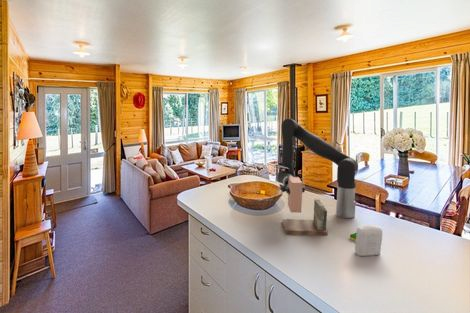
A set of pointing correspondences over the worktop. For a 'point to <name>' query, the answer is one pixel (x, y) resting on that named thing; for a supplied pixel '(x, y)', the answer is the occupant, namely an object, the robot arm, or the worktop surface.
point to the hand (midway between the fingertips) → (295, 192)
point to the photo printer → (368, 240)
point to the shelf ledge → (308, 222)
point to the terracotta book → (295, 194)
